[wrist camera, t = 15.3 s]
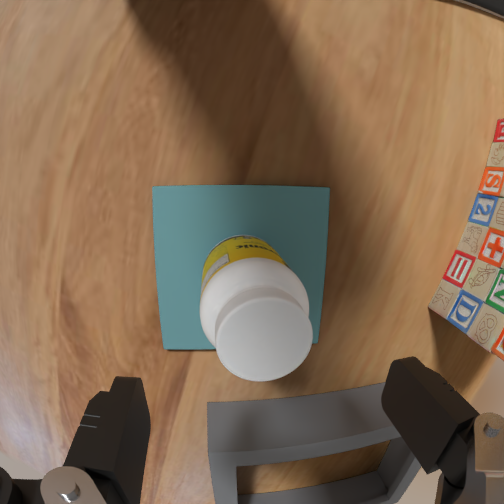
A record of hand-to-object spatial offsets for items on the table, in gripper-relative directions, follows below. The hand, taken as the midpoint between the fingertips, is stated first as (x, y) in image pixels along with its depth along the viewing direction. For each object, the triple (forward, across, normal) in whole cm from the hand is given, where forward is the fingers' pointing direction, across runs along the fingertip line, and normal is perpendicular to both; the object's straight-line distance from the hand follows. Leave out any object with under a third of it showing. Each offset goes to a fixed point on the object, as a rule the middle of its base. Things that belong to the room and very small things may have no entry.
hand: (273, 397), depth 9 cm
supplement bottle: (+13, 0, 0) cm, 13 cm away
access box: (+13, -8, +21) cm, 27 cm away
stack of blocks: (+14, -25, -4) cm, 29 cm away
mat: (+14, 0, 0) cm, 14 cm away
